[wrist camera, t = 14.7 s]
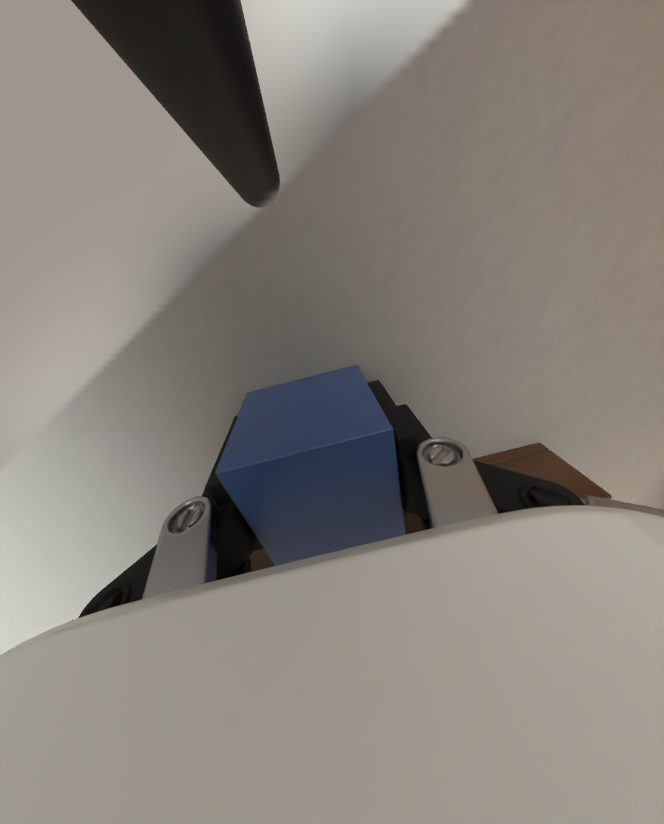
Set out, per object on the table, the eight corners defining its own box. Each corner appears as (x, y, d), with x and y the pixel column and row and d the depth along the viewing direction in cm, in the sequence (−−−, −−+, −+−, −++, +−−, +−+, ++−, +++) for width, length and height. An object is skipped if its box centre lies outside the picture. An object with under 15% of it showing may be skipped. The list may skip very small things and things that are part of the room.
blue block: (246, 392, 10) (213, 473, 6) (356, 364, 10) (393, 428, 6) (283, 472, 12) (275, 567, 8) (372, 450, 12) (405, 535, 8)
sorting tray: (175, 532, 14) (139, 610, 10) (539, 442, 13) (613, 496, 10) (275, 639, 22) (271, 701, 19) (501, 586, 21) (535, 640, 18)
